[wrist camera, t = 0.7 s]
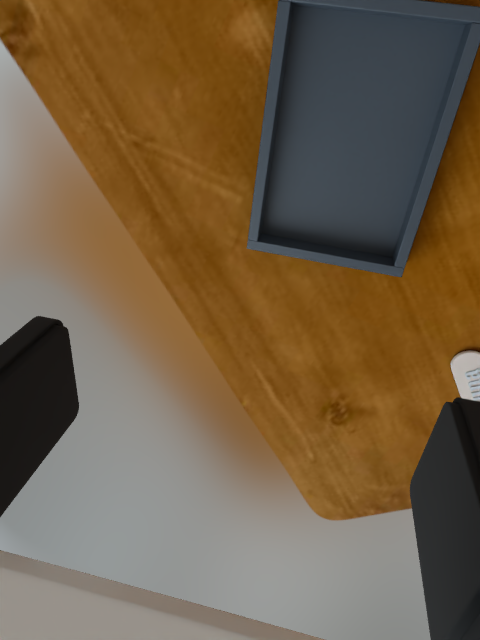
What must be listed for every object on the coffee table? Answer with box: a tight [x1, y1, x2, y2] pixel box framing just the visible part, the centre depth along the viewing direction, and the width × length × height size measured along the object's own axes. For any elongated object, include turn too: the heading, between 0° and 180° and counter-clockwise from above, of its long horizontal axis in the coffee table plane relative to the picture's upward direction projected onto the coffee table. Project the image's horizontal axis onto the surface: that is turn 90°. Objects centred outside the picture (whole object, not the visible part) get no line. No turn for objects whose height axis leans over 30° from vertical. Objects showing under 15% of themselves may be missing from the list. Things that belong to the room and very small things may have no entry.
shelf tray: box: [247, 0, 480, 277], centre depth 32 cm, size 18×13×3 cm
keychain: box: [450, 351, 480, 402], centre depth 41 cm, size 10×1×3 cm
